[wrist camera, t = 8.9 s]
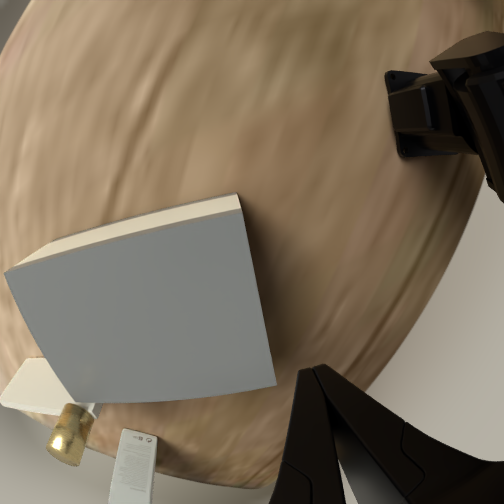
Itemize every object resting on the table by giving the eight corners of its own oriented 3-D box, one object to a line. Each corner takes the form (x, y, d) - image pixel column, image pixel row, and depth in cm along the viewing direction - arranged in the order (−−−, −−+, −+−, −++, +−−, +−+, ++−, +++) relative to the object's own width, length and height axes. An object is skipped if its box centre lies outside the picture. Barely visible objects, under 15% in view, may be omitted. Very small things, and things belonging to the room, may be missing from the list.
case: (236, 192, 18) (242, 212, 12) (263, 324, 21) (276, 385, 15) (54, 239, 17) (3, 273, 11) (101, 348, 21) (75, 402, 15)
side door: (112, 345, 20) (68, 449, 10) (124, 367, 21) (89, 469, 11) (23, 351, 20) (-25, 421, 10) (34, 369, 21) (-8, 441, 11)
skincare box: (121, 426, 25) (101, 515, 13) (160, 435, 25) (149, 528, 14) (124, 450, 26) (109, 527, 15) (158, 458, 27) (150, 537, 16)
